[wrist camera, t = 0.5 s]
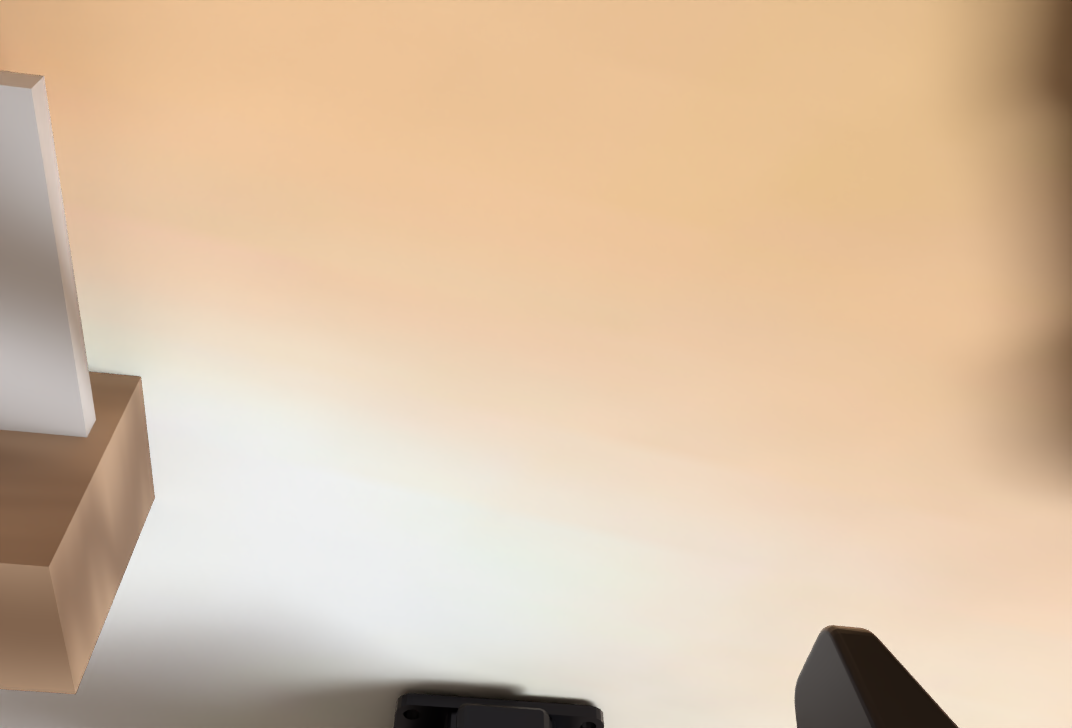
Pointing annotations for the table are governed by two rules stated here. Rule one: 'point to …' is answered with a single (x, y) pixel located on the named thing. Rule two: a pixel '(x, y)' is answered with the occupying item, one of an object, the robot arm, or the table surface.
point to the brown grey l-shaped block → (55, 426)
